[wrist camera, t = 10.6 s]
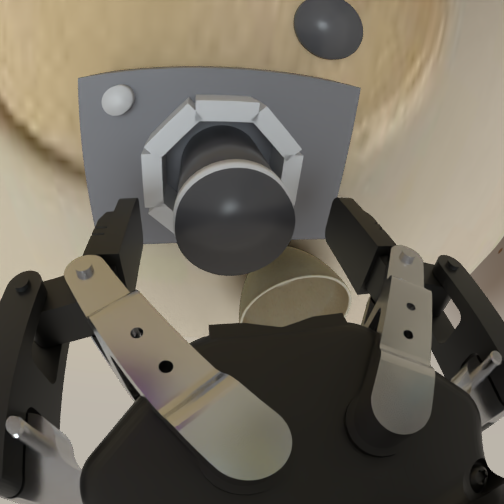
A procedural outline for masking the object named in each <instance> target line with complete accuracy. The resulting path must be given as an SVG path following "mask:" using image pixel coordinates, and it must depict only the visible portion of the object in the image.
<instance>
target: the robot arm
mask: <svg viewBox="0 0 504 504" xmlns="http://www.w3.org/2000/svg"><path fill="white" fill-rule="evenodd" d="M325 238H326V242H327V244H328V245H329V247H330V249H331V250H332V252H333V254H334V255H335V257H336V258H337V260H338V262H339V264H340V265H341V267H342V269H343V270H344V272H345V274H346V275H347V277H348V279H349V281H350V282H351V284H352V286H353V288H354V289H355V291H356V293H357V295H360V294H368V293H369V294H370V297H369V299H368V302H367V305H366V309H365V313H364V316H363V320H362V324H361V325H358V324H354V323H348V322H347V321H346V319H345V317H344V315H343V313H336V314H328V315H320V316H313V317H310V318H307V319H304V320H301V321H299V322H296V323H293V324H290V325H287V326H284V327H276V326H267V325H259V324H250V323H233V324H217V325H209V336H206V337H202V338H200V339H197V340H195V341H193V342H191V343H188V342H187V341H186V340H185V339H184V338H183V337H182V336H181V335H180V334H179V333H178V332H177V331H176V330H175V329H174V328H173V327H172V326H171V325H170V324H169V323H168V322H167V321H166V320H165V319H164V318H163V316H162V315H161V314H160V313H159V312H158V311H157V310H156V309H155V308H154V307H153V306H152V305H151V304H150V303H149V301H148V300H147V299H146V298H145V297H144V296H143V295H142V294H141V293H140V292H139V291H138V290H135V288H136V282H137V276H138V270H139V265H140V259H141V254H142V249H143V230H142V222H141V214H140V205H139V200H138V198H121V199H119V200H118V202H117V205H116V207H115V209H114V211H111V212H106V213H105V214H104V215H103V216H102V217H100V218H99V220H98V222H97V224H96V226H95V229H94V230H93V233H92V235H91V237H90V239H89V242H88V244H87V246H86V249H85V251H84V254H83V256H81V257H78V258H76V259H75V260H73V261H72V262H71V263H69V264H68V266H67V267H66V269H65V271H64V276H61V277H58V278H55V279H51V280H48V281H44V282H43V281H42V278H41V276H40V274H39V273H37V272H35V271H25V272H22V273H20V274H18V275H17V276H15V277H14V278H13V279H12V280H11V281H10V282H9V284H8V285H7V287H6V290H5V292H4V294H3V296H2V299H1V301H0V497H1V498H4V499H7V500H10V501H13V502H17V503H20V504H504V478H502V477H500V476H498V475H496V474H495V473H493V472H492V471H491V470H490V469H489V467H488V466H487V463H486V460H485V457H484V452H483V444H482V434H481V433H482V431H483V430H485V429H487V428H488V427H489V426H491V425H492V424H494V423H495V422H497V421H498V420H499V419H501V418H502V417H503V416H504V322H503V320H502V319H501V317H500V315H499V314H498V313H497V311H496V310H495V308H494V307H493V305H492V304H491V302H490V301H489V300H488V298H487V297H486V296H485V294H484V293H483V292H482V290H481V289H480V287H479V286H478V285H477V284H476V282H475V281H474V280H473V278H472V277H471V276H470V274H469V273H468V272H467V271H466V269H465V268H464V267H463V266H462V265H461V264H460V263H459V262H458V261H457V260H456V259H454V258H452V257H450V256H447V255H441V256H439V258H438V260H437V261H436V263H435V265H433V264H428V263H423V259H422V257H421V256H420V255H419V254H418V253H417V252H416V251H414V250H413V249H411V248H409V247H406V246H403V245H396V244H395V243H394V241H393V240H392V239H391V238H390V237H389V235H388V234H387V233H386V232H385V231H384V230H382V227H381V226H380V225H379V224H377V222H376V220H375V219H374V218H373V217H372V216H371V215H369V214H368V213H366V212H365V211H363V210H362V208H361V207H360V206H359V205H358V204H357V203H356V202H355V201H354V200H353V199H352V198H334V200H333V202H332V205H331V209H330V213H329V217H328V221H327V225H326V229H325ZM450 299H452V300H453V302H454V303H455V305H456V306H457V308H458V309H459V311H460V314H461V321H460V323H459V325H458V326H457V327H456V329H454V327H453V326H452V324H451V322H450V321H449V319H448V318H447V316H446V314H445V313H444V311H443V310H444V308H445V307H446V305H447V304H448V302H449V301H450ZM90 336H91V338H92V340H93V341H94V343H95V344H96V346H97V348H98V349H99V351H100V352H101V354H102V355H103V357H104V358H105V360H106V361H107V363H108V364H109V366H110V367H111V369H112V370H113V372H114V373H115V375H116V376H117V378H118V379H119V381H120V382H121V384H122V385H123V387H124V388H125V389H126V391H127V393H128V394H129V395H130V397H131V398H132V399H133V401H134V404H133V405H132V406H131V407H130V408H129V410H128V411H127V412H126V413H125V415H123V417H122V418H121V419H120V420H119V421H118V423H117V424H116V425H115V426H114V427H113V429H112V430H111V431H110V432H109V433H108V435H107V436H106V437H105V438H104V440H103V441H102V442H101V443H100V444H99V446H98V447H97V448H96V449H95V450H94V451H93V453H92V454H91V455H90V456H89V457H88V459H87V460H86V462H85V464H84V466H83V468H82V469H81V468H80V467H79V466H78V464H77V463H76V460H75V457H74V453H73V447H72V444H71V442H70V440H69V439H68V437H67V436H66V435H65V434H64V433H63V432H61V431H60V430H59V429H60V413H61V401H62V391H63V382H64V374H65V367H66V360H67V354H68V348H69V342H71V341H75V340H78V339H82V338H86V337H90ZM431 350H432V352H433V354H434V356H435V358H436V360H437V362H438V364H439V366H440V368H441V370H442V372H443V374H444V376H445V377H443V376H442V375H441V374H439V373H437V372H436V371H435V370H434V369H433V367H431V365H430V359H431Z"/></svg>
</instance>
